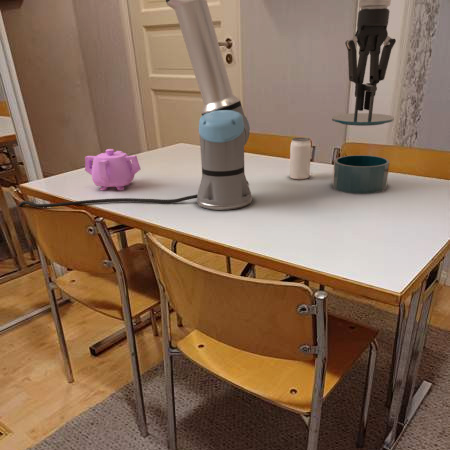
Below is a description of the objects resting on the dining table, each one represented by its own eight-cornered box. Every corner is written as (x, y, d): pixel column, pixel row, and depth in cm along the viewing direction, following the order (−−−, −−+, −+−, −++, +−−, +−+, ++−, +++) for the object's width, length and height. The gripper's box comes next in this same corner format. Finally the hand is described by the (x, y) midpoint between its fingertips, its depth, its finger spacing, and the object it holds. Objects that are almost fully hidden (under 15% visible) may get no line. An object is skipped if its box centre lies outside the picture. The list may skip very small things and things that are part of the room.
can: (303, 180, 148) (305, 141, 142) (285, 178, 151) (286, 139, 145) (313, 176, 152) (315, 138, 146) (295, 173, 156) (297, 136, 150)
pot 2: (346, 195, 132) (348, 169, 128) (324, 182, 145) (326, 157, 142) (396, 190, 135) (400, 164, 131) (370, 177, 148) (373, 153, 144)
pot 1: (150, 179, 156) (145, 143, 151) (133, 194, 141) (128, 155, 136) (99, 179, 159) (93, 144, 153) (77, 194, 144) (70, 155, 138)
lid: (347, 128, 120) (351, 88, 116) (322, 119, 134) (324, 83, 130) (405, 124, 123) (411, 84, 119) (374, 116, 137) (378, 80, 133)
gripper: (353, 8, 111) (344, 113, 123) (409, 6, 114) (395, 109, 125) (340, 10, 118) (332, 109, 129) (392, 9, 120) (380, 106, 132)
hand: (363, 109), depth 127 cm, fingers closed on lid, 2 cm apart
